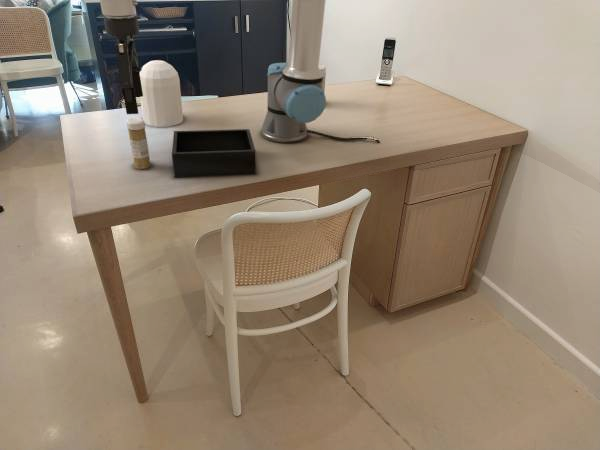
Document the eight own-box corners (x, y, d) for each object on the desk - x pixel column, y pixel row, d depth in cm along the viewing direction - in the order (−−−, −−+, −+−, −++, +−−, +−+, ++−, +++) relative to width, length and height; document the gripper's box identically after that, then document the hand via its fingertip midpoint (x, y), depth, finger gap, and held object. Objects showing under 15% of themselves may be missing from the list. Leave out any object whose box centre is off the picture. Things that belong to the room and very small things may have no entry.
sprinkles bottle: (148, 161, 129) (141, 116, 122) (153, 167, 126) (146, 121, 118) (131, 164, 127) (123, 118, 119) (136, 171, 124) (128, 124, 116)
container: (180, 112, 164) (175, 55, 153) (186, 125, 153) (180, 65, 142) (142, 114, 159) (133, 56, 148) (145, 128, 149) (136, 66, 138)
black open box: (249, 150, 139) (249, 129, 135) (255, 174, 126) (255, 151, 122) (176, 153, 135) (173, 130, 131) (174, 177, 122) (171, 154, 118)
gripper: (131, 26, 96) (146, 121, 108) (141, 7, 116) (153, 89, 128) (94, 26, 94) (113, 122, 106) (110, 7, 115) (125, 90, 127)
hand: (135, 104), depth 117 cm, fingers open, 13 cm apart
